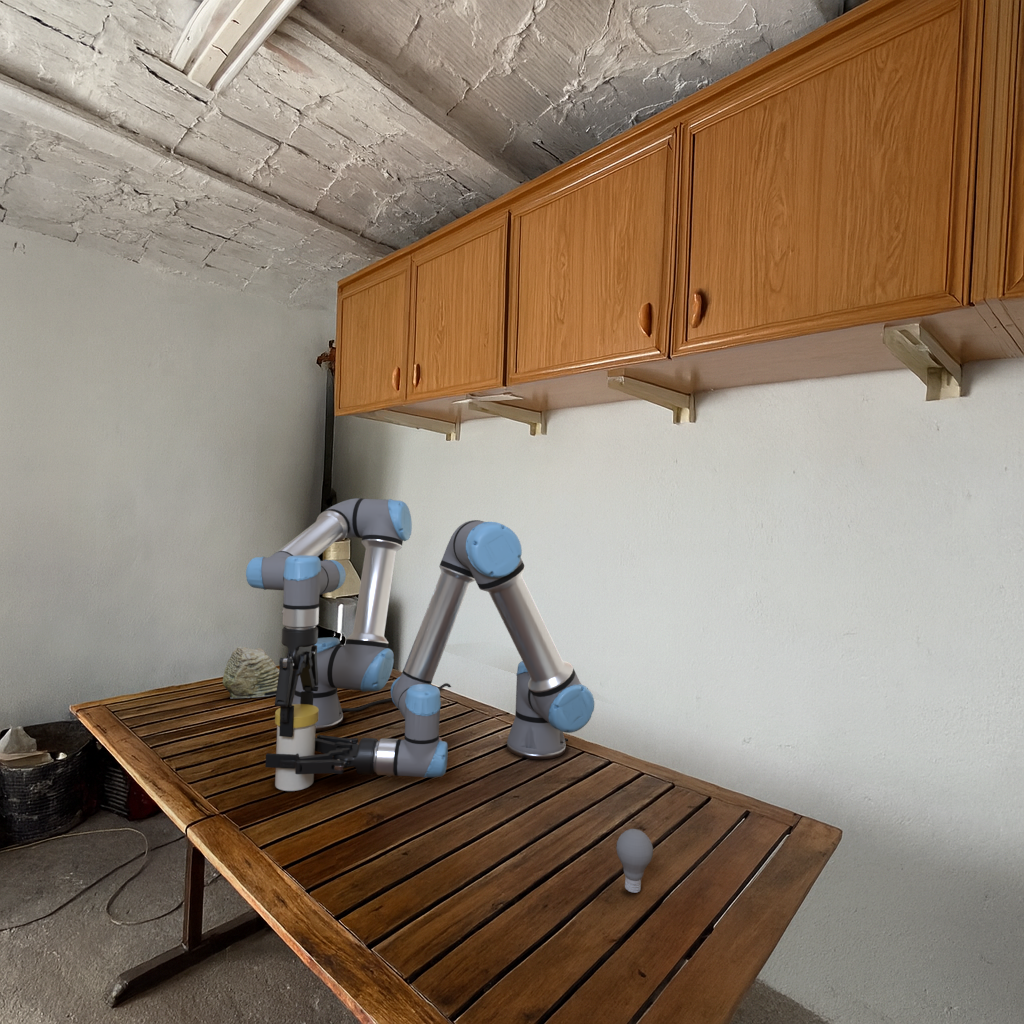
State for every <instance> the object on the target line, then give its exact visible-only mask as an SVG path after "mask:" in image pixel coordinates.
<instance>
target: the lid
mask: <svg viewBox="0 0 1024 1024" xmlns="http://www.w3.org/2000/svg"><path fill="white" fill-rule="evenodd" d="M292 706H294V724H293V728H300V727H306V726H310V725H312V724H315V723H316V722H317V721H318V713H319V709H318V708H317V707H316V706H313V705H309V704H293V705H292ZM274 712H275V714H274V724H275V725H276V726H277V725H278V726H280V707H279V708H277V709H276V710H275V711H274Z"/></svg>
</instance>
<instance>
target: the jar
mask: <svg viewBox="0 0 1024 1024" xmlns="http://www.w3.org/2000/svg"><path fill="white" fill-rule="evenodd" d="M279 731H280V726H278V725H276V743H275V745H276V746H275V754H293V755H296V754H299V757H302V756H310V755H316V752H315V738H316V736H317V734H316V733H317V732H316V723H315V724H312V725H310V726H306V727H300V728H293V736H292V737H283V736H279ZM274 769H275V770H274V771H275V773H274V787H275V788H276V789H278V790H280V791H285V792H295V791H301V790H304V789H307V788H309V787H310V786H312V785H313V784H314V782H315V774H295V769H292V768H274Z"/></svg>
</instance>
